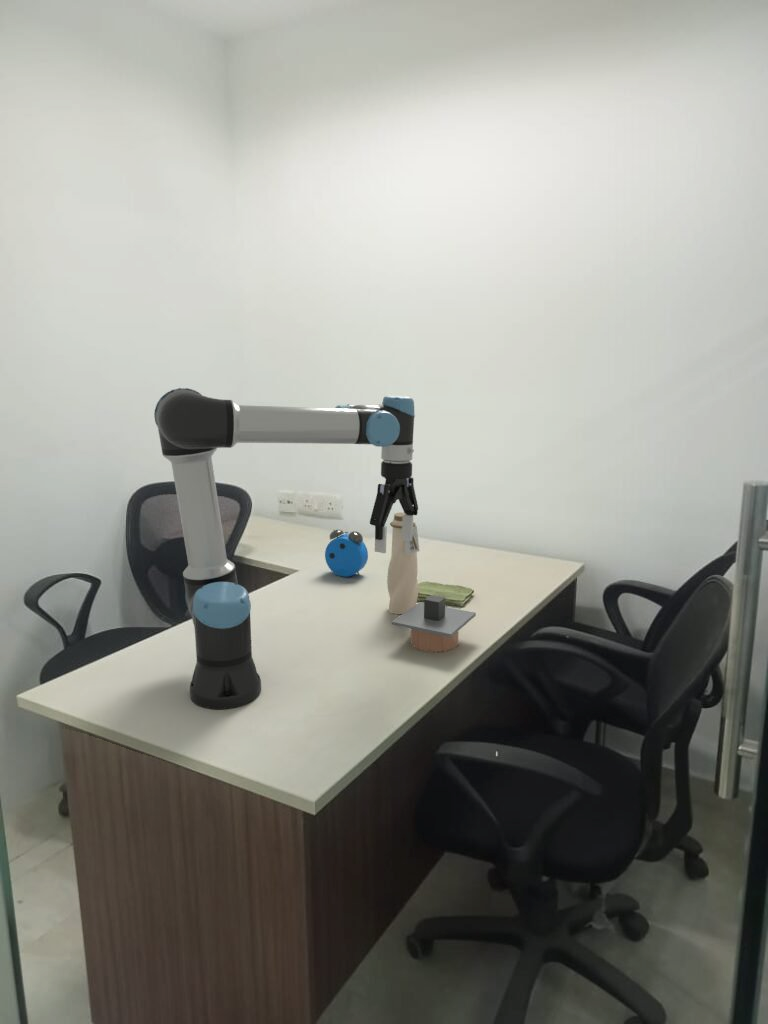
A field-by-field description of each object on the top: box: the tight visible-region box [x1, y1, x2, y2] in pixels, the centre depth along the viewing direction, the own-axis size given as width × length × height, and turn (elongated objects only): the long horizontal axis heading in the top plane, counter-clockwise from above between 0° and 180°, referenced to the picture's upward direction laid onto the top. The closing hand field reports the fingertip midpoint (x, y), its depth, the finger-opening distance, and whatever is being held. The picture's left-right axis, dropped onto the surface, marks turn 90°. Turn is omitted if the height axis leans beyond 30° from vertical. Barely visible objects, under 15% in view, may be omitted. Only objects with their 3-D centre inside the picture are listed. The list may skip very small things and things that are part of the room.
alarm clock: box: [324, 529, 369, 578], centre depth 235 cm, size 13×6×15 cm, turn 68°
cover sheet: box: [391, 595, 477, 637], centre depth 182 cm, size 16×16×6 cm
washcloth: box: [417, 581, 475, 608], centre depth 216 cm, size 13×18×3 cm
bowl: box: [410, 629, 459, 653], centre depth 183 cm, size 12×12×6 cm
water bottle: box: [386, 512, 420, 615], centre depth 202 cm, size 10×9×28 cm
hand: (394, 546), depth 178 cm, fingers open, 13 cm apart
